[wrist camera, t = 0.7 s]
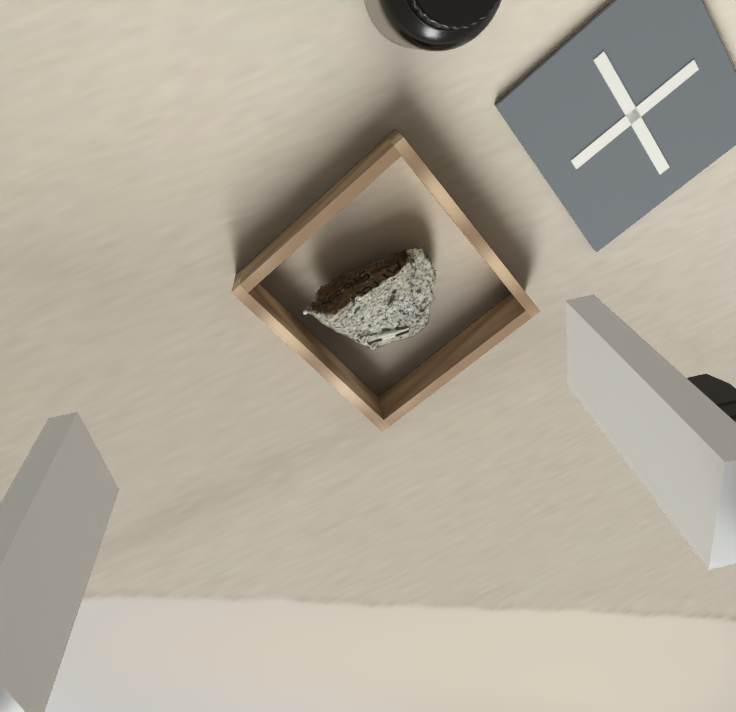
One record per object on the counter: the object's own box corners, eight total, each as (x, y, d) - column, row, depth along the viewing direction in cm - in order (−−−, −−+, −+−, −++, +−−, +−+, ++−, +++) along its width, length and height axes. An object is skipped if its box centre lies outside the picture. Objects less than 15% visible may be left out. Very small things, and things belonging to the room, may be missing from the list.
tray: (235, 274, 45) (231, 292, 42) (395, 129, 42) (403, 136, 39) (377, 408, 52) (382, 431, 49) (524, 293, 49) (540, 311, 46)
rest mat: (494, 104, 42) (497, 105, 41) (671, -52, 38) (678, -53, 38) (593, 249, 47) (597, 252, 47) (754, 124, 44) (761, 126, 44)
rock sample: (370, 404, 47) (368, 364, 39) (306, 339, 50) (291, 289, 41) (461, 321, 50) (477, 267, 42) (396, 262, 52) (399, 201, 44)
